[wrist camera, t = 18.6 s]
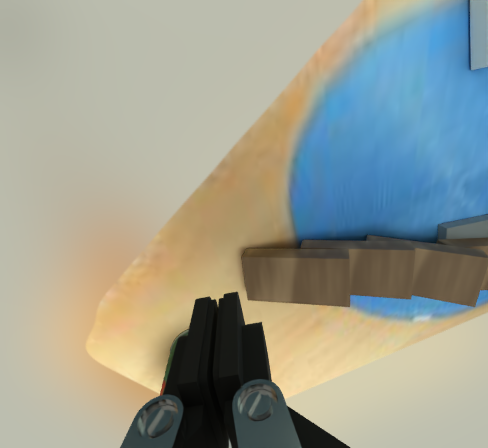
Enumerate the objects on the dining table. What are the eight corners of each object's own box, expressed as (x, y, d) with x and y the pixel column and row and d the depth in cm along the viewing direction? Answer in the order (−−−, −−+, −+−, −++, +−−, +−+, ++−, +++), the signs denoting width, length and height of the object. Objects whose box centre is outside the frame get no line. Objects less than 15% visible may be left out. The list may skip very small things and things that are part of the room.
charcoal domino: (433, 222, 31) (524, 203, 31) (432, 262, 33) (518, 244, 33) (446, 228, 29) (543, 208, 29) (444, 270, 31) (536, 252, 31)
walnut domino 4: (436, 239, 30) (528, 236, 30) (427, 282, 31) (514, 277, 32) (451, 247, 28) (548, 243, 28) (440, 292, 29) (532, 287, 30)
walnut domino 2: (302, 239, 30) (410, 241, 27) (304, 281, 32) (406, 287, 28) (300, 247, 28) (415, 250, 25) (302, 291, 30) (411, 299, 27)
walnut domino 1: (247, 248, 30) (348, 249, 27) (252, 289, 32) (349, 294, 28) (241, 257, 28) (349, 258, 25) (247, 300, 30) (349, 307, 27)
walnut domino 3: (367, 234, 30) (481, 249, 27) (360, 276, 32) (467, 295, 28) (367, 241, 29) (490, 258, 25) (360, 285, 30) (474, 307, 27)
